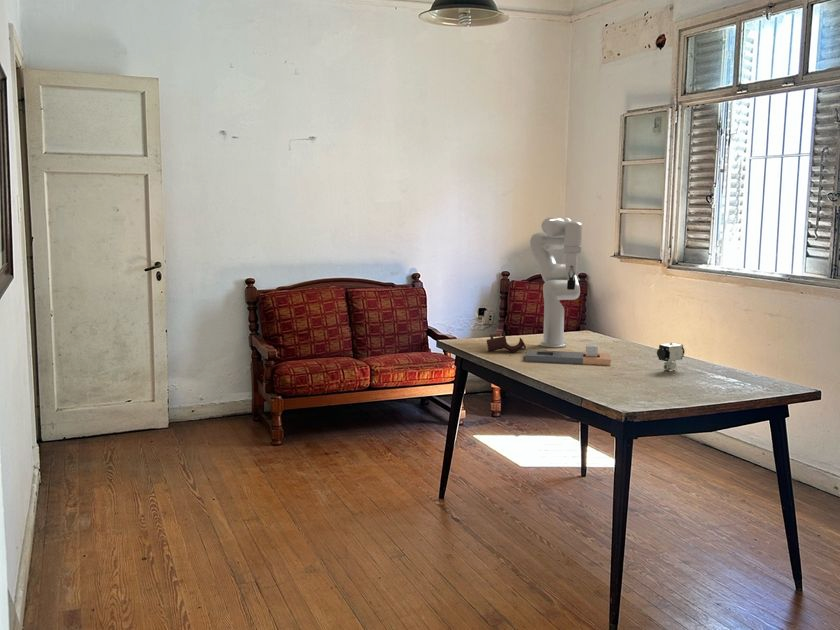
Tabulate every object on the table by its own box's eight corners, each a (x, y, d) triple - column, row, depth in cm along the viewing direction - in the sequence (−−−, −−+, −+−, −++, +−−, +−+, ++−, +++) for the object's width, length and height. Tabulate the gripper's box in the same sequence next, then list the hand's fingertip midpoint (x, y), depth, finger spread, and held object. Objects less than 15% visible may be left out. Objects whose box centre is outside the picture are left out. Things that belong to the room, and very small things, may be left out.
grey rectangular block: (585, 360, 354) (585, 344, 352) (597, 360, 352) (597, 344, 351) (585, 362, 349) (585, 346, 348) (597, 362, 348) (597, 346, 347)
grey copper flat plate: (527, 355, 363) (527, 349, 363) (609, 359, 356) (610, 353, 355) (525, 361, 349) (525, 355, 349) (610, 365, 342) (610, 359, 342)
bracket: (526, 348, 365) (521, 326, 368) (489, 354, 367) (485, 333, 370) (526, 350, 371) (522, 329, 374) (489, 357, 373) (486, 336, 375)
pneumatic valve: (655, 371, 332) (656, 342, 330) (674, 368, 338) (676, 340, 336) (665, 373, 327) (667, 344, 325) (685, 370, 333) (687, 342, 331)
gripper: (564, 248, 366) (563, 286, 369) (563, 251, 350) (561, 290, 352) (581, 248, 365) (579, 286, 367) (580, 251, 348) (579, 290, 351)
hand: (571, 288), depth 360 cm, fingers open, 9 cm apart
